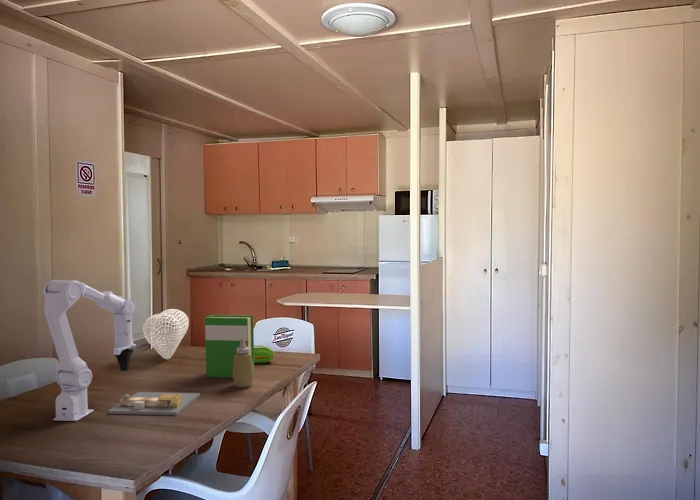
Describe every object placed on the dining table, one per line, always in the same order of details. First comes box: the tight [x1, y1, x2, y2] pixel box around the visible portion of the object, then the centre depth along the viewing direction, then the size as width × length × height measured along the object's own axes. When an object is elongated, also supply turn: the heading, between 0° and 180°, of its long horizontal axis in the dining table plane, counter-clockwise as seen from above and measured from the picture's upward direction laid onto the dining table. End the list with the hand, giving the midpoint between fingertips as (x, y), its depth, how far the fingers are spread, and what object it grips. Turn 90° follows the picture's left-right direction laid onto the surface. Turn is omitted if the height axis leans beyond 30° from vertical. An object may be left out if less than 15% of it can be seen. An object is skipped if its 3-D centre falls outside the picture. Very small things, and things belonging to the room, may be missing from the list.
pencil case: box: [254, 345, 275, 364], centre depth 240 cm, size 7×8×20 cm
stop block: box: [134, 401, 145, 409], centre depth 176 cm, size 2×3×2 cm, turn 84°
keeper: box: [158, 394, 182, 408], centre depth 178 cm, size 4×6×3 cm, turn 84°
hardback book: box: [204, 314, 255, 379], centre depth 218 cm, size 18×7×24 cm, turn 81°
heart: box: [142, 308, 190, 360], centre depth 247 cm, size 28×16×22 cm, turn 179°
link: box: [119, 394, 171, 407], centre depth 178 cm, size 17×4×3 cm, turn 83°
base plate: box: [107, 391, 201, 416], centre depth 182 cm, size 20×23×1 cm
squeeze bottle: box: [232, 338, 255, 389], centre depth 203 cm, size 8×8×18 cm
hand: (124, 370), depth 192 cm, fingers closed
